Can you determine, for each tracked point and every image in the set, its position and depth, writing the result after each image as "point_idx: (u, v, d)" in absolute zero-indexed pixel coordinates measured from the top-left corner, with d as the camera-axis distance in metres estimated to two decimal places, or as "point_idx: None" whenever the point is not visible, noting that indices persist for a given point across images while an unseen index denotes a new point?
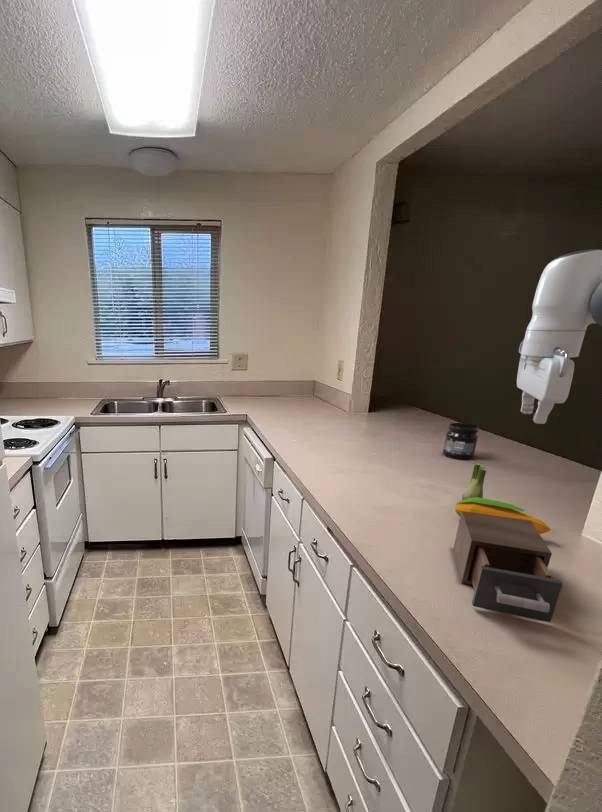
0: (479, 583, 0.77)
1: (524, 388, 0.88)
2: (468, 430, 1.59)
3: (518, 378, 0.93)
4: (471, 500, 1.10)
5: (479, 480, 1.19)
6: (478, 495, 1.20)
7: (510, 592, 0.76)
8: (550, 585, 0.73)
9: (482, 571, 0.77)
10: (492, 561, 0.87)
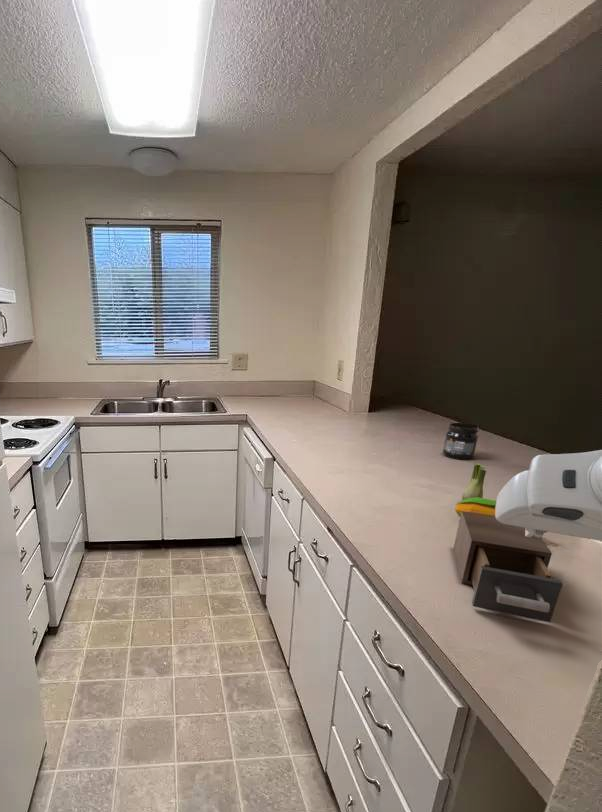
0: (479, 583, 0.77)
1: (567, 533, 0.51)
2: (468, 430, 1.59)
3: (510, 520, 0.52)
4: (471, 500, 1.10)
5: (479, 480, 1.19)
6: (478, 495, 1.20)
7: (510, 592, 0.76)
8: (550, 585, 0.73)
9: (482, 571, 0.77)
10: (492, 561, 0.87)
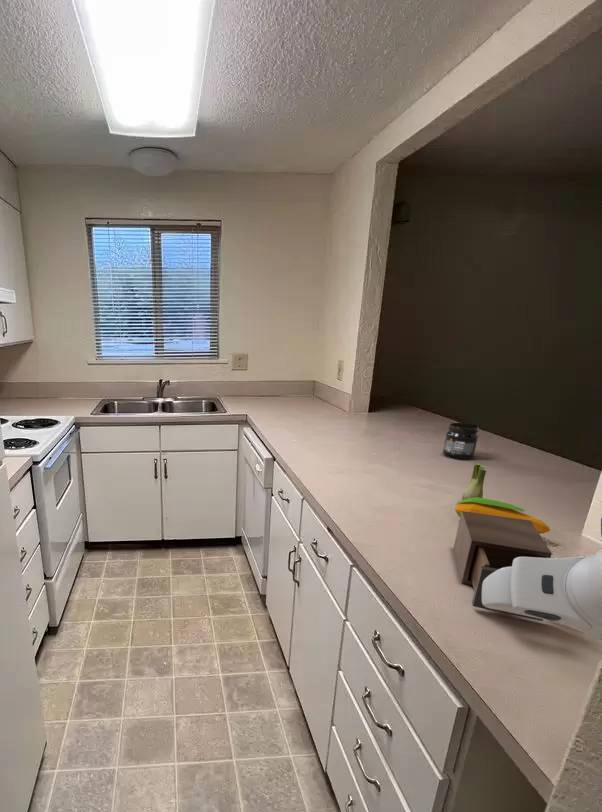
0: (479, 583, 0.77)
1: (546, 619, 0.56)
2: (468, 430, 1.59)
3: (495, 607, 0.57)
4: (471, 500, 1.10)
5: (479, 480, 1.19)
6: (478, 495, 1.20)
7: None
8: None
9: (482, 571, 0.77)
10: (492, 561, 0.87)
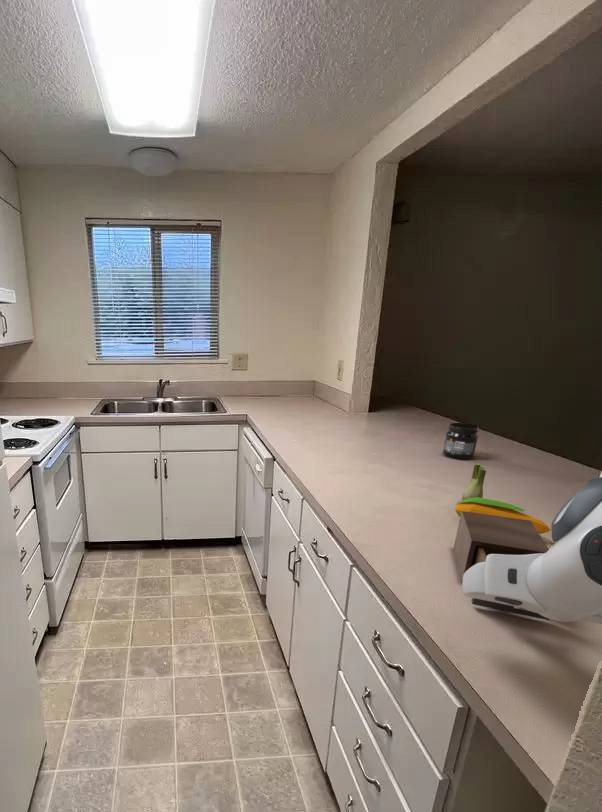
0: None
1: (514, 606, 0.67)
2: (468, 430, 1.59)
3: (473, 596, 0.69)
4: (471, 500, 1.10)
5: (479, 480, 1.19)
6: (478, 495, 1.20)
7: None
8: None
9: None
10: None
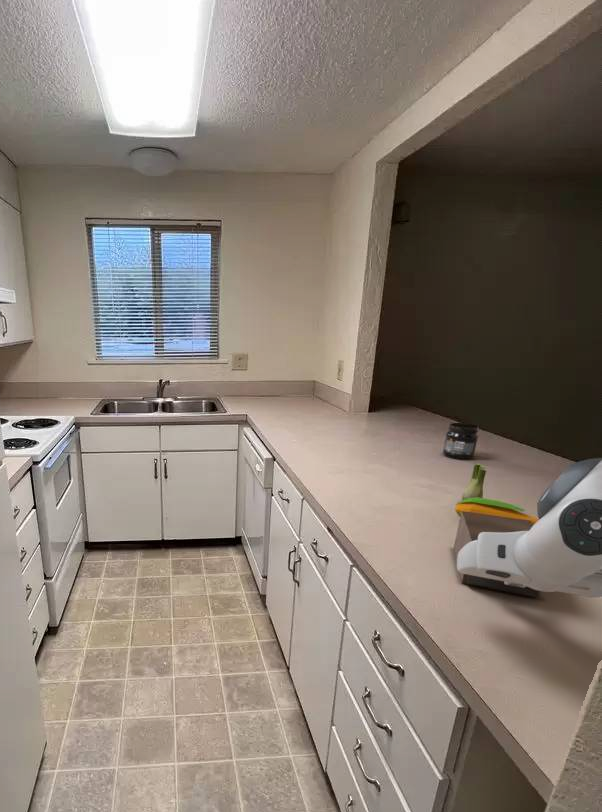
0: None
1: (504, 581, 0.74)
2: (468, 430, 1.59)
3: (466, 572, 0.75)
4: (471, 500, 1.10)
5: (479, 480, 1.19)
6: (478, 495, 1.20)
7: None
8: None
9: None
10: None
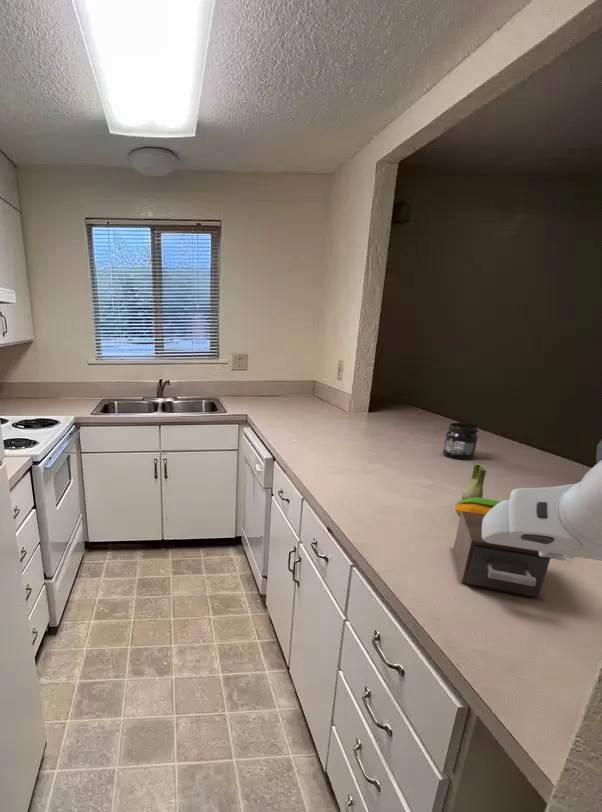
0: (472, 561, 0.84)
1: (541, 550, 0.60)
2: (468, 430, 1.59)
3: (494, 540, 0.61)
4: (471, 500, 1.10)
5: (479, 480, 1.19)
6: (478, 495, 1.20)
7: (501, 569, 0.83)
8: (536, 561, 0.80)
9: (475, 550, 0.83)
10: None
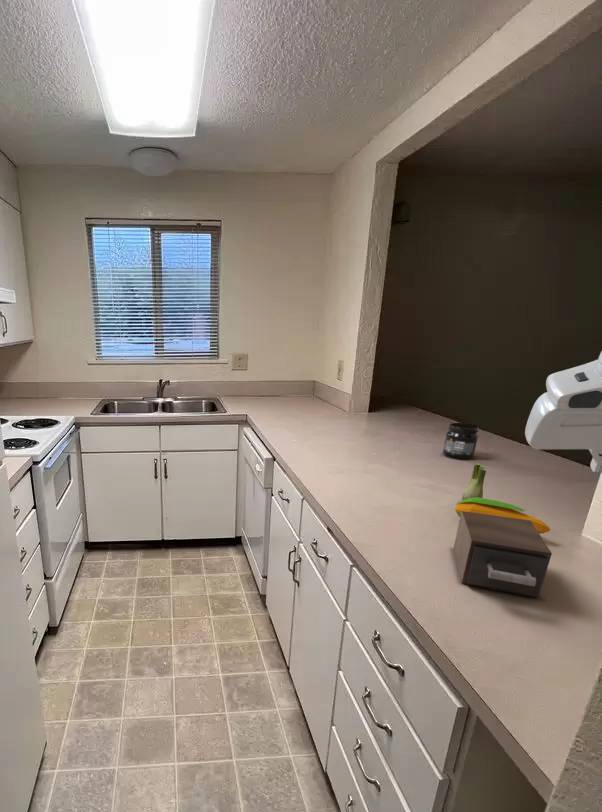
0: (472, 561, 0.84)
1: (594, 446, 0.59)
2: (468, 430, 1.59)
3: (542, 439, 0.60)
4: (471, 500, 1.10)
5: (479, 480, 1.19)
6: (478, 495, 1.20)
7: (501, 569, 0.83)
8: (536, 561, 0.80)
9: (475, 550, 0.83)
10: None
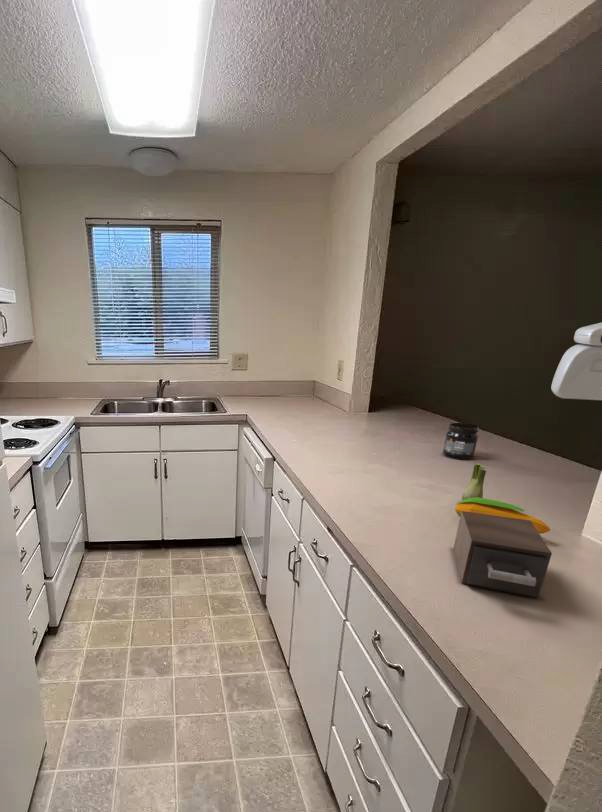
0: (472, 561, 0.84)
1: None
2: (468, 430, 1.59)
3: (571, 384, 0.61)
4: (471, 500, 1.10)
5: (479, 480, 1.19)
6: (478, 495, 1.20)
7: (501, 569, 0.83)
8: (536, 561, 0.80)
9: (475, 550, 0.83)
10: None
